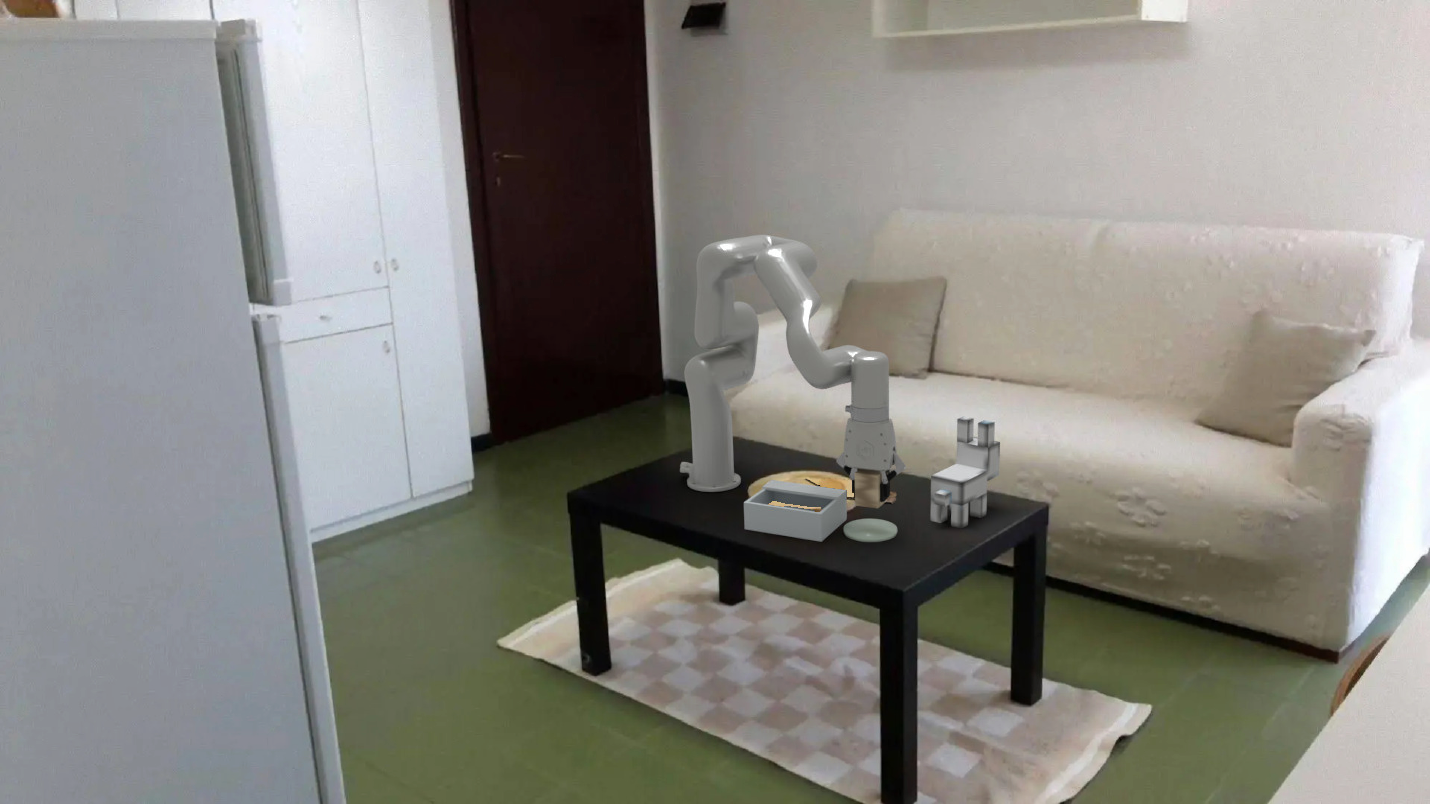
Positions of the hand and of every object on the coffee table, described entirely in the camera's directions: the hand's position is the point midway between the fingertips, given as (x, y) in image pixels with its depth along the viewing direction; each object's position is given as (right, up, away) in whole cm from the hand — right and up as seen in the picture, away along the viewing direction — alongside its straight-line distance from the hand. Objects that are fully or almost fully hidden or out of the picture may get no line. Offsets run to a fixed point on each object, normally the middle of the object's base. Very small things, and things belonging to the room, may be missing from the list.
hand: (871, 497), depth 236 cm
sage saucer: (0, -7, +2) cm, 8 cm away
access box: (-15, -6, +8) cm, 18 cm away
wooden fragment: (-1, -1, +27) cm, 27 cm away
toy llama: (+21, -5, +9) cm, 23 cm away
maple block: (0, -1, 0) cm, 1 cm away
